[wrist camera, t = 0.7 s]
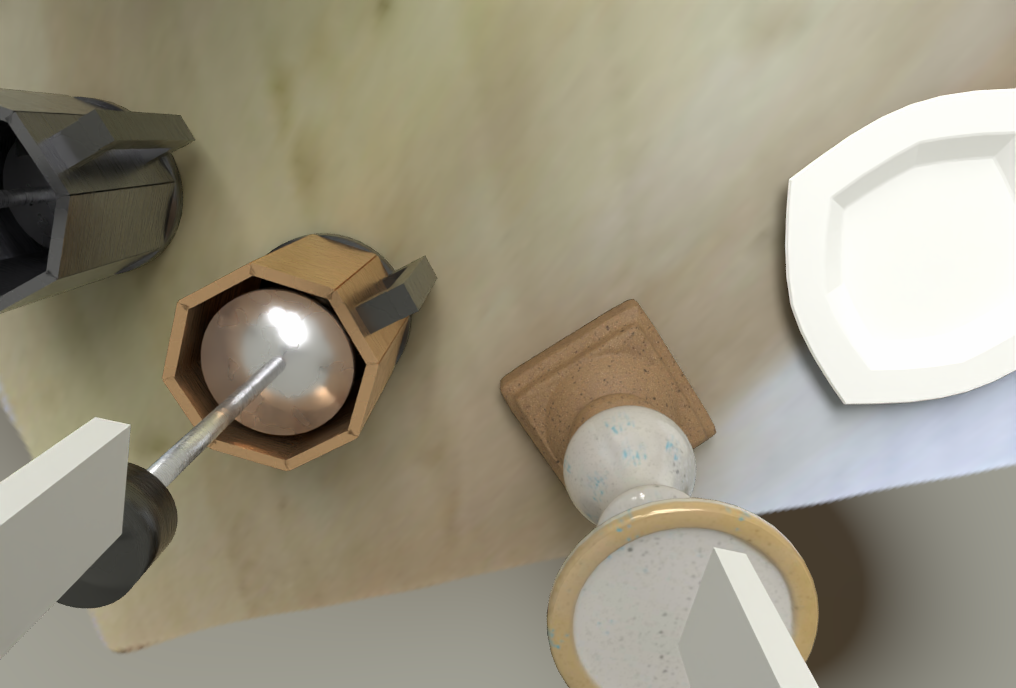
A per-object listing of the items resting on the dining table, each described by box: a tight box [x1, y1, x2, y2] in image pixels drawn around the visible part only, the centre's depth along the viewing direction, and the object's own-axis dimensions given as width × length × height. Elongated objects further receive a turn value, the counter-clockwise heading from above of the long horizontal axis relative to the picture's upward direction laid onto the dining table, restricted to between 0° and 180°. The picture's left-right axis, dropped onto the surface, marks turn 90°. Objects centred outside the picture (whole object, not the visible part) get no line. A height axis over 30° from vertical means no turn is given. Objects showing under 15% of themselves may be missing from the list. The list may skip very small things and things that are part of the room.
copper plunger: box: [57, 287, 356, 608], centre depth 29 cm, size 8×8×19 cm
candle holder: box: [500, 299, 819, 688], centre depth 38 cm, size 11×11×24 cm
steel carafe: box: [0, 88, 195, 314], centre depth 40 cm, size 11×14×12 cm
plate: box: [785, 89, 1016, 405], centre depth 46 cm, size 19×19×2 cm
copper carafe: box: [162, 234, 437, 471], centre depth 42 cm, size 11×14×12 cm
